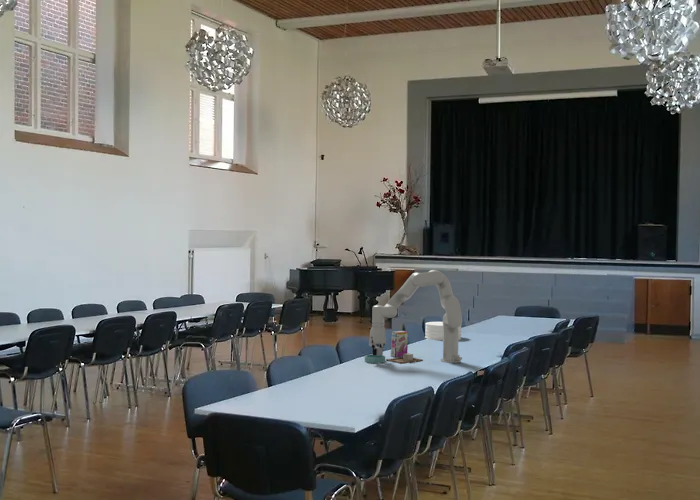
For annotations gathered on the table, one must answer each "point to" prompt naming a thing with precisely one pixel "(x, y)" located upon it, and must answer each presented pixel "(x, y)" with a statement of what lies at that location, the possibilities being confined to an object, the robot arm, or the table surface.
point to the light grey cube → (379, 351)
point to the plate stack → (436, 331)
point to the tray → (400, 360)
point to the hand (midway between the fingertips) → (377, 354)
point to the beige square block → (407, 357)
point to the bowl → (374, 358)
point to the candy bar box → (399, 343)
